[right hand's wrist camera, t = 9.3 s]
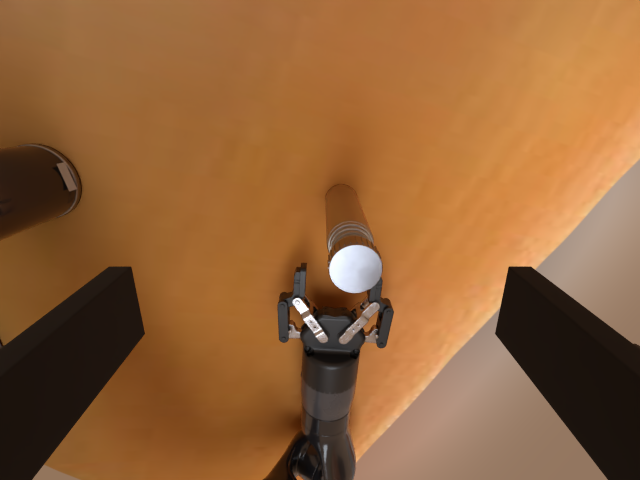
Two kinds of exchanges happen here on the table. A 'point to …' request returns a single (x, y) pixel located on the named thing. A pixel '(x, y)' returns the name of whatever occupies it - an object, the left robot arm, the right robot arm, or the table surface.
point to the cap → (354, 264)
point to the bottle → (344, 216)
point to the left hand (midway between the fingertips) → (338, 267)
